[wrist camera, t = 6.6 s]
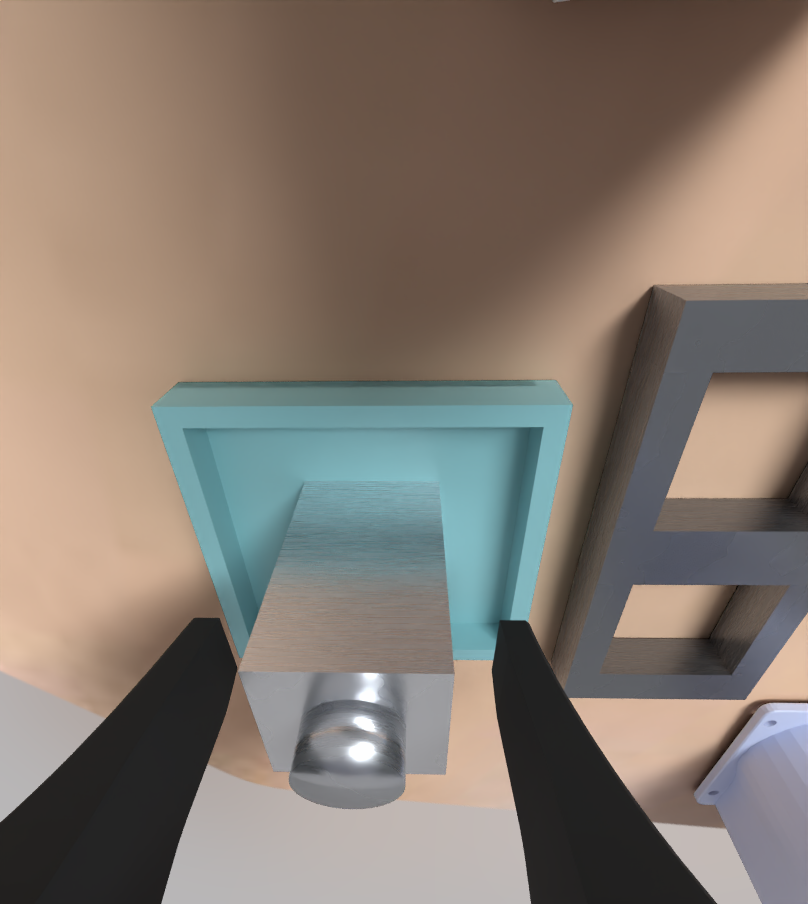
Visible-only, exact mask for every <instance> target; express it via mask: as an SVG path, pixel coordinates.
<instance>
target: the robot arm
mask: <svg viewBox="0 0 808 904" xmlns="http://www.w3.org/2000/svg"><path fill="white" fill-rule="evenodd" d="M236 672H237V665H236V662H235V660H234V657H233V654H232V652H231V649H230V646H229V643H228V641H227V638H226V635H225V632H224V630H223V627H222V624H221V621H220V619H219V618H194V619H193V620H192V621H191V622H190V623H189V624H188V625H187V627H186V628H185V629H184V630H183V631H182V632H181V634H180V635H179V636H178V637H177V638H176V640H175V641H174V642H173V643H172V644H171V645H170V647H169V648H168V649H167V650H166V651H165V653H164V654H163V655H162V656H161V657H160V658H159V660H158V661H157V662H156V663H155V664H154V665H153V667H152V668H151V669H150V670H149V671H148V672H147V674H146V675H145V676H144V677H143V678H142V679H141V680H140V681H139V683H138V684H137V685H136V686H135V687H134V688H133V689H132V690H131V692H130V693H129V694H128V695H127V696H126V697H125V698H124V699H123V701H122V702H121V703H120V704H119V705H118V706H117V707H116V708H115V709H114V711H113V712H112V713H111V714H110V715H109V716H108V717H107V718H106V719H105V720H104V721H103V722H102V723H101V724H100V726H99V727H98V728H97V729H96V730H95V731H94V732H93V733H92V734H91V735H90V736H89V737H88V738H87V739H86V740H85V741H84V742H83V743H82V744H81V745H80V746H79V748H77V750H76V751H75V752H74V753H73V754H72V755H71V756H70V757H69V758H68V759H67V760H66V761H65V762H64V763H63V764H62V765H61V766H60V767H59V768H58V769H57V770H56V771H55V772H54V773H53V774H52V775H51V776H50V777H48V778H47V779H46V780H45V781H44V782H43V783H42V784H41V785H40V786H39V787H38V788H37V789H36V790H35V791H34V792H33V793H32V794H31V795H30V796H29V797H28V798H26V799H25V800H24V801H23V802H22V803H21V804H20V805H19V806H18V807H17V808H16V809H15V810H14V811H13V812H12V813H10V814H9V815H8V816H7V817H6V818H5V819H4V820H3V821H1V822H0V904H161V902H162V899H163V895H164V892H165V888H166V884H167V881H168V878H169V874H170V871H171V867H172V864H173V860H174V857H175V853H176V849H177V846H178V843H179V840H180V837H181V834H182V831H183V828H184V826H185V823H186V820H187V817H188V814H189V812H190V809H191V806H192V804H193V801H194V798H195V796H196V793H197V790H198V787H199V785H200V782H201V780H202V777H203V774H204V771H205V769H206V766H207V764H208V761H209V758H210V756H211V753H212V750H213V747H214V745H215V742H216V739H217V737H218V734H219V731H220V728H221V726H222V723H223V720H224V717H225V714H226V711H227V707H228V704H229V700H230V696H231V692H232V688H233V684H234V680H235V676H236ZM492 677H493V686H494V695H495V704H496V713H497V719H498V724H499V729H500V734H501V739H502V744H503V749H504V753H505V758H506V763H507V768H508V773H509V777H510V782H511V787H512V792H513V796H514V801H515V806H516V811H517V816H518V820H519V825H520V830H521V836H522V842H523V848H524V853H525V861H526V868H527V876H528V883H529V891H530V899H531V904H717V903H716V902H715V901H714V899H713V898H712V897H711V896H710V895H709V894H708V892H707V891H706V890H705V888H704V887H703V886H702V885H701V884H700V882H699V881H698V880H697V879H696V878H695V876H694V875H693V874H692V873H691V872H690V870H689V869H688V868H687V867H686V866H685V864H684V863H683V862H682V861H681V859H680V858H679V857H678V856H677V854H676V853H675V852H674V851H673V849H672V848H671V846H670V845H669V844H668V843H667V841H666V840H665V839H664V838H663V836H662V835H661V834H660V833H659V831H658V830H657V829H656V827H655V826H654V824H653V823H652V822H651V820H650V819H649V818H648V816H647V815H646V814H645V812H644V811H643V810H642V808H641V807H640V806H639V804H638V803H637V801H636V800H635V799H634V797H633V796H632V795H631V793H630V792H629V790H628V789H627V788H626V786H625V785H624V783H623V782H622V780H621V779H620V778H619V776H618V775H617V773H616V772H615V770H614V769H613V767H612V766H611V764H610V763H609V761H608V760H607V758H606V757H605V755H604V754H603V752H602V751H601V749H600V748H599V746H598V745H597V743H596V742H595V740H594V739H593V737H592V736H591V734H590V732H589V731H588V729H587V728H586V726H585V725H584V723H583V721H582V720H581V718H580V716H579V715H578V713H577V711H576V710H575V708H574V706H573V705H572V703H571V701H570V700H569V698H568V697H567V695H566V693H565V691H564V690H563V688H562V686H561V684H560V683H559V681H558V679H557V677H556V676H555V674H554V672H553V670H552V668H551V666H550V665H549V663H548V661H547V659H546V657H545V655H544V653H543V651H542V649H541V647H540V645H539V643H538V641H537V639H536V637H535V635H534V633H533V631H532V629H531V626H530V624H529V623H528V622H527V621H526V620H500V621H499V627H498V634H497V640H496V647H495V653H494V660H493V666H492ZM694 797H695V799H696V801H697V803H699V804H703V805H715V806H716V808H717V810H718V812H719V814H720V816H721V818H722V821H723V823H724V825H725V827H726V829H727V831H728V833H729V835H730V837H731V839H732V842H733V844H734V846H735V848H736V850H737V852H738V854H739V856H740V858H741V860H742V863H743V865H744V867H745V869H746V871H747V873H748V875H749V877H750V879H751V882H752V884H753V886H754V888H755V890H756V892H757V894H758V896H759V898H760V900H761V902H762V904H808V703H767V704H764V705H762V706H760V707H759V708H758V709H757V711H756V712H755V713H754V715H753V716H752V717H751V719H750V720H749V721H748V723H747V724H746V725H745V727H744V728H743V729H742V730H741V732H740V733H739V734H738V736H737V737H736V738H735V740H734V741H733V742H732V744H731V745H730V746H729V748H728V749H727V750H726V752H725V753H724V754H723V755H722V757H721V758H720V759H719V761H718V762H717V763H716V765H715V766H714V767H713V769H712V770H711V771H710V773H709V774H708V775H707V777H706V778H705V779H704V780H703V782H702V783H701V784H700V786H699V787H698V788H697V790H696V791H695V792H694Z"/></svg>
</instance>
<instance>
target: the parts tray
mask: <svg viewBox="0 0 808 904" xmlns="http://www.w3.org/2000/svg"><path fill="white" fill-rule="evenodd" d="M572 407H573V404H572V403H571V401H570V400H569V398H568V397H567V395H566V394H565V393H564V391H563V390H562V388H561V387H560V385H559V384H558V382H557V381H556V380H477V381H307V382H178V383H177V384H176V385H175V386H174V387H173V388H172V389H170V390H169V391H168V392H167V393H166V394H165V395H164V396H163V397H161V398H160V399H159V400H158V401H157V402H156V403H155V404H154V405H153V406H151V408H152V411H153V414H154V417H155V420H156V422H157V425H158V428H159V431H160V434H161V437H162V439H163V442H164V445H165V448H166V451H167V454H168V456H169V459H170V462H171V465H172V468H173V471H174V473H175V476H176V479H177V482H178V485H179V488H180V490H181V493H182V496H183V499H184V502H185V505H186V507H187V510H188V513H189V516H190V519H191V522H192V524H193V527H194V530H195V533H196V536H197V539H198V541H199V544H200V547H201V550H202V553H203V556H204V558H205V561H206V564H207V567H208V570H209V573H210V575H211V578H212V581H213V584H214V587H215V590H216V592H217V595H218V598H219V601H220V604H221V607H222V609H223V612H224V615H225V618H226V621H227V624H228V626H229V629H230V632H231V635H232V638H233V641H234V643H235V646H236V649H237V652H238V655H239V658H243V655H244V653H245V650H246V647H247V644H248V641H249V638H250V636H251V633H252V630H253V627H254V624H255V621H256V619H257V616H258V613H259V610H260V607H261V604H262V602H263V599H264V596H265V593H266V590H267V587H268V585H269V582H270V579H271V576H272V573H273V570H274V568H275V565H276V562H277V559H278V556H279V553H280V551H281V548H282V545H283V542H284V539H285V537H286V534H287V531H288V528H289V525H290V522H291V520H292V517H293V514H294V511H295V508H296V505H297V503H298V500H299V497H300V494H301V491H302V488H303V486H304V483H305V481H439V487H440V500H441V512H442V525H443V537H444V550H445V562H446V575H447V587H448V600H449V612H450V625H451V637H452V650H453V660H494V653H495V647H496V640H497V634H498V627H499V621H500V620H526V621H527V622H528V619H529V614H530V609H531V604H532V599H533V595H534V590H535V585H536V580H537V575H538V571H539V566H540V561H541V556H542V551H543V547H544V542H545V537H546V532H547V527H548V523H549V518H550V513H551V508H552V503H553V499H554V494H555V489H556V484H557V479H558V475H559V470H560V465H561V460H562V455H563V450H564V446H565V441H566V436H567V431H568V426H569V422H570V417H571V412H572Z"/></svg>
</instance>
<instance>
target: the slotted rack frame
mask: <svg viewBox="0 0 808 904" xmlns="http://www.w3.org/2000/svg"><path fill="white" fill-rule="evenodd" d="M720 372H808V283H805V284H714V285H654V286H653V290H652V293H651V297H650V301H649V304H648V308H647V312H646V315H645V319H644V323H643V326H642V330H641V334H640V338H639V341H638V345H637V349H636V352H635V356H634V360H633V363H632V367H631V371H630V374H629V378H628V382H627V385H626V389H625V393H624V396H623V400H622V404H621V407H620V411H619V415H618V418H617V422H616V426H615V429H614V433H613V437H612V440H611V444H610V448H609V451H608V455H607V459H606V462H605V466H604V470H603V474H602V477H601V481H600V485H599V488H598V492H597V496H596V499H595V503H594V507H593V510H592V514H591V518H590V521H589V525H588V529H587V532H586V536H585V540H584V543H583V547H582V551H581V554H580V558H579V562H578V565H577V569H576V573H575V576H574V580H573V584H572V587H571V591H570V595H569V599H568V602H567V606H566V610H565V613H564V617H563V621H562V624H561V628H560V632H559V635H558V639H557V643H556V646H555V650H554V654H553V657H552V661H551V662H552V666H553V669H554V673H555V676H556V677H557V679H558V681H559V683H560V684H561V686H562V688H563V690H564V691H565V693H566V695H567V697H568V698H633V699H721V700H745V699H746V698H747V696H748V695H749V694H750V692H751V691H752V689H753V688H754V687H755V685H756V684H757V682H758V681H759V680H760V678H761V677H762V675H763V674H764V673H765V671H766V670H767V668H768V667H769V666H770V664H771V663H772V661H773V660H774V659H775V657H776V656H777V654H778V653H779V652H780V650H781V649H782V647H783V646H784V645H785V643H786V642H787V641H788V639H789V638H790V636H791V635H792V634H793V632H794V631H795V629H796V628H797V627H798V625H799V624H800V622H801V621H802V620H803V618H804V617H805V615H806V614H807V613H808V463H807V465H806V467H805V469H804V470H803V472H802V474H801V476H800V478H799V479H798V481H797V483H796V485H795V486H794V488H793V490H792V492H791V494H790V495H789V497H788V499H665V498H666V495H667V493H668V490H669V487H670V485H671V482H672V480H673V477H674V474H675V472H676V469H677V466H678V464H679V461H680V458H681V456H682V453H683V450H684V448H685V445H686V442H687V440H688V437H689V434H690V432H691V429H692V427H693V424H694V421H695V419H696V416H697V413H698V411H699V408H700V405H701V403H702V400H703V397H704V395H705V392H706V389H707V387H708V384H709V382H710V379H711V376H712V374H713V373H720ZM633 584H634V585H739V586H738V588H737V589H736V591H735V593H734V595H733V597H732V598H731V600H730V602H729V604H728V605H727V607H726V609H725V611H724V613H723V614H722V616H721V618H720V620H719V621H718V623H717V625H716V627H715V629H714V630H713V632H712V634H711V636H710V637H709V639H652V638H613V636H614V633H615V630H616V628H617V625H618V623H619V620H620V617H621V615H622V612H623V609H624V607H625V604H626V601H627V599H628V596H629V593H630V591H631V588H632V585H633Z"/></svg>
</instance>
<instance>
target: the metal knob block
mask: <svg viewBox="0 0 808 904" xmlns="http://www.w3.org/2000/svg"><path fill="white" fill-rule="evenodd" d="M238 673H239V676H240V679H241V681H242V684H243V687H244V690H245V693H246V695H247V698H248V701H249V704H250V707H251V709H252V712H253V715H254V718H255V721H256V723H257V726H258V729H259V732H260V735H261V737H262V740H263V743H264V746H265V749H266V751H267V754H268V757H269V760H270V763H271V765H272V768H273V771H275V772H290V774H289V784H290V786H291V788H292V789H293V790H294V791H295V792H296V793H297V794H298V795H300V796H301V797H303V798H305V799H307V800H309V801H311V802H314V803H317V804H320V805H324V806H328V807H335V808H342V809H365V808H373V807H378V806H382V805H385V804H387V803H390V802H392V801H394V800H396V799H397V798H399V797H400V796H401V795H402V794H403V792H404V790H405V774H442V775H446V765H447V754H448V742H449V731H450V719H451V708H452V697H453V685H454V662H453V650H452V637H451V625H450V612H449V600H448V587H447V575H446V562H445V550H444V537H443V525H442V512H441V500H440V487H439V481H305V483H304V486H303V488H302V491H301V494H300V497H299V500H298V503H297V505H296V508H295V511H294V514H293V517H292V520H291V522H290V525H289V528H288V531H287V534H286V537H285V539H284V542H283V545H282V548H281V551H280V553H279V556H278V559H277V562H276V565H275V568H274V570H273V573H272V576H271V579H270V582H269V585H268V587H267V590H266V593H265V596H264V599H263V602H262V604H261V607H260V610H259V613H258V616H257V619H256V621H255V624H254V627H253V630H252V633H251V636H250V638H249V641H248V644H247V647H246V650H245V653H244V655H243V658H242V661H241V664H240V667H239V670H238Z"/></svg>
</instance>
